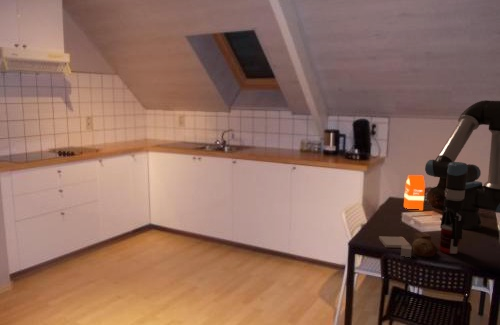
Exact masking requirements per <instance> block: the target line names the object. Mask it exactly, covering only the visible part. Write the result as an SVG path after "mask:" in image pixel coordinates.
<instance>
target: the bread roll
mask: <svg viewBox="0 0 500 325" xmlns="http://www.w3.org/2000/svg"><path fill="white" fill-rule="evenodd" d="M410 245H411V246H412V250H411V254H414V255H416V256H417V257H422V258H423V257H427V258H429V257H434V256H435V255H436V253H437V246H435V244H434V242H432V240H431V241H429V240H427V239H422V238H419V239H416V240H415V241H414V240H413V242H412V243H411V244H410Z"/></svg>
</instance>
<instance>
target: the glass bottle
mask: <svg viewBox="0 0 500 325" xmlns="http://www.w3.org/2000/svg"><path fill="white" fill-rule="evenodd" d="M446 180H447V179H446V178H440V177H439V180H438V183H437V185H436V186H434V187H432V188H430V189H429V190H428V191H427V195H426V198H427V200H428V203H429V204H430V205H432V206H433V207H434V208H437V209H440V210H443V208H446V207H445V206H444V199H445V198H446V197H445V190H446Z"/></svg>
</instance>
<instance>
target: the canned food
mask: <svg viewBox="0 0 500 325" xmlns="http://www.w3.org/2000/svg"><path fill="white" fill-rule="evenodd" d="M451 238H453V237H452V225H445V224H444V225H442V227H441V228H440V237H439V247H438V248H439V251H440V252H441V253H444V254H448V255H454V254H453V253H450V246H451ZM460 240H461V239H459V240H458V248H457V254H458V253H459V248H460Z"/></svg>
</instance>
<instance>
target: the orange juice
mask: <svg viewBox="0 0 500 325" xmlns="http://www.w3.org/2000/svg"><path fill="white" fill-rule="evenodd" d="M425 189H426V182H425V177H424V175H421V174H419V175H416V174H412V175H411V174H408V175H407V179H406V181H405V188H404V197H403V198H404V199H403V208H405V209H406V208H407V209H419V210H418V211H423V210H424V202H425V193H426V192H425ZM407 209H406V210H407Z"/></svg>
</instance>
